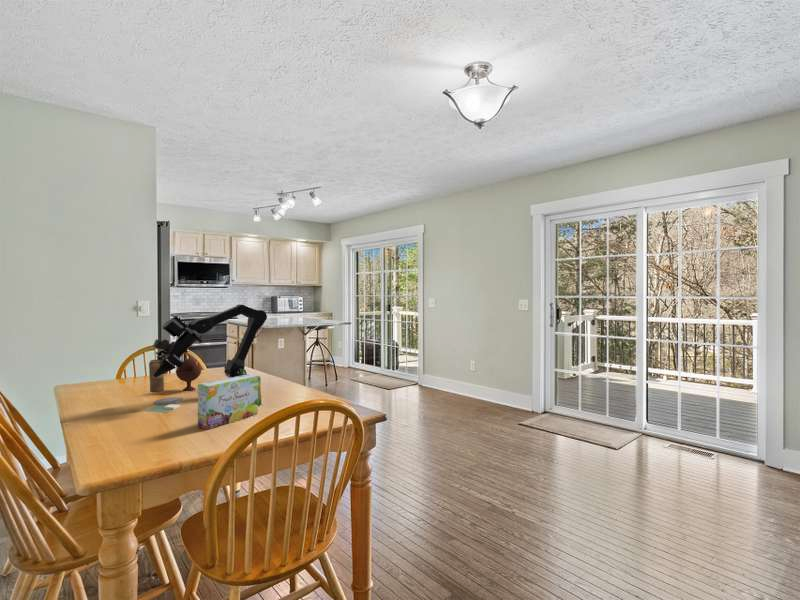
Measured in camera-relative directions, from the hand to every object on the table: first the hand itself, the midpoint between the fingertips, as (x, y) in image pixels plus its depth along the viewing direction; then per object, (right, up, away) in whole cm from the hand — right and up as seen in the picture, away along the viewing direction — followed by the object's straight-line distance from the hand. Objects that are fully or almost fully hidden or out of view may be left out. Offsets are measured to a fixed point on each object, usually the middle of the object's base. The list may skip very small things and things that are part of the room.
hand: (152, 375), depth 169 cm
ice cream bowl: (-2, -13, +32) cm, 35 cm away
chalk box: (+34, -13, +6) cm, 37 cm away
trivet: (0, -13, +11) cm, 17 cm away
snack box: (+36, -14, -15) cm, 41 cm away
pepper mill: (+1, -6, +1) cm, 6 cm away
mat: (+4, -13, 0) cm, 14 cm away
